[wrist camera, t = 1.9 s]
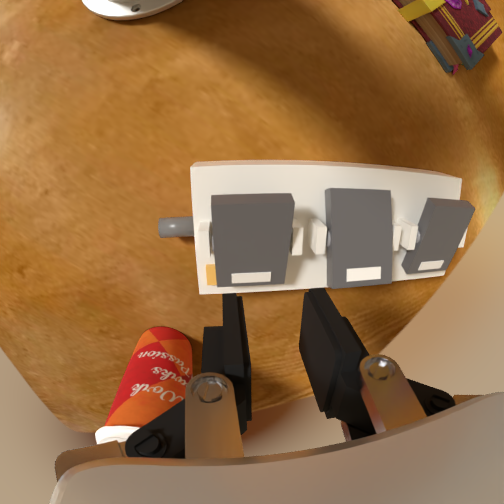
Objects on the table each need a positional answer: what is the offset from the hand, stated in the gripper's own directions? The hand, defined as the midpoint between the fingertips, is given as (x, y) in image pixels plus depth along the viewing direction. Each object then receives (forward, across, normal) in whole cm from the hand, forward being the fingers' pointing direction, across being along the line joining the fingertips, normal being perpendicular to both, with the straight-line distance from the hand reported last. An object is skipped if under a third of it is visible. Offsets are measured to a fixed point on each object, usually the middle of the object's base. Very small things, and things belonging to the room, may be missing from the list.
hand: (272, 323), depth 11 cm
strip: (+15, -6, 0) cm, 17 cm away
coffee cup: (+15, +9, +14) cm, 23 cm away
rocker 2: (+9, -16, 0) cm, 19 cm away
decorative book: (+16, -20, -25) cm, 36 cm away
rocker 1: (+9, 0, 0) cm, 9 cm away
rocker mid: (+9, -8, 0) cm, 12 cm away
